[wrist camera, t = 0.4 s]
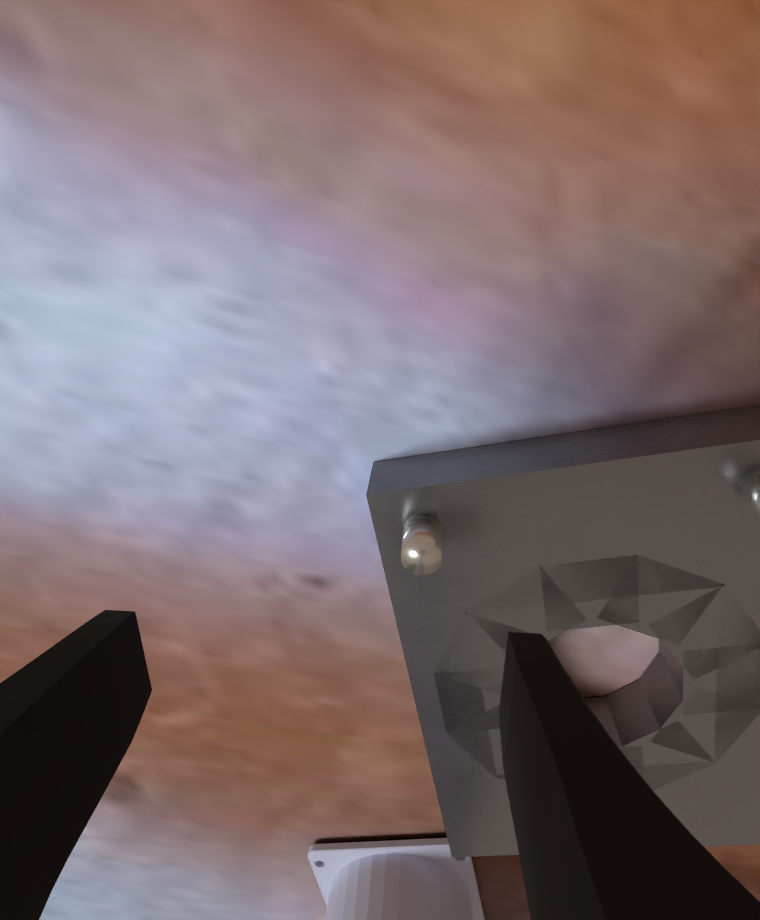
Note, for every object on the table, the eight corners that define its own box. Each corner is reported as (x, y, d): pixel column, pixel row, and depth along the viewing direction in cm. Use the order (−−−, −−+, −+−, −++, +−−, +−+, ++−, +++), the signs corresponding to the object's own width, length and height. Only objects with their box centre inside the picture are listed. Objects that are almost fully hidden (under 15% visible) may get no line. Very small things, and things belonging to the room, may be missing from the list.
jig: (747, 788, 26) (799, 886, 22) (450, 804, 28) (452, 897, 24) (777, 402, 19) (860, 454, 15) (373, 462, 21) (360, 521, 17)
